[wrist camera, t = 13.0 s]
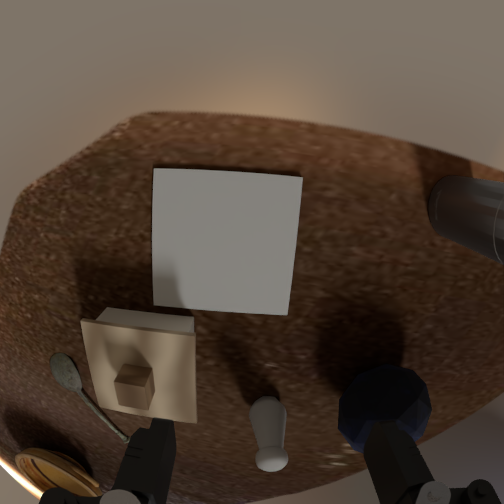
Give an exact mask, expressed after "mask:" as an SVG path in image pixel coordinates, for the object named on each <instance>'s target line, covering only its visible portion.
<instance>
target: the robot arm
mask: <svg viewBox="0 0 504 504" xmlns="http://www.w3.org/2000/svg"><path fill="white" fill-rule="evenodd" d="M428 211H429V218H430V222H431V224H432V226H433V228H434V229H435V231H436V232H437V233H438V234H440V235H441V236H443V237H445V238H447V239H450V240H452V241H454V242H456V243H458V244H460V245H463V246H465V247H467V248H469V249H471V250H473V251H476V252H478V253H480V254H482V255H484V256H486V257H488V258H490V259H492V260H494V261H496V262H498V263H501V264H503V265H504V183H503V182H497V181H490V180H484V179H477V178H470V177H463V176H455V175H453V176H447V177H444V178H442V179H441V180H440V181H439V182H438V183H437V184H436V185H435V187H434V188H433V190H432V192H431V195H430V199H429V206H428ZM363 453H364V459H365V461H366V464H367V467H368V470H369V472H370V475H371V478H372V481H373V484H374V486H375V490H376V493H377V495H378V498H379V501H380V504H501V502H500V500H499V498H498V496H497V494H496V492H495V490H494V489H493V486H492V485H491V484H490V483H489V482H488V481H486V480H482V479H479V480H475V481H473V482H471V483H470V485H469V486H468V487H467V488H448V486H446V485H445V484H444V483H442V482H438V481H435V480H434V479H433V476H432V474H431V473H430V471H429V469H428V467H427V465H426V463H425V461H424V459H423V457H422V455H420V451H419V449H418V448H417V445H416V444H415V442H414V440H413V438H412V437H411V436H410V435H409V434H408V433H407V432H406V431H405V430H399V428H398V426H397V425H396V423H395V421H393V420H388V421H381V422H376V423H375V424H374V425H373V427H372V430H371V432H370V434H369V436H368V438H367V440H366V443H365V445H364V450H363ZM175 456H176V438H175V430H174V422H173V420H170V419H163V418H157V417H154V418H153V420H152V423H151V426H150V429H145V428H139V429H138V430H137V431H136V432H135V433H134V434H133V435H132V436H131V438H130V441H129V444H128V448H127V449H126V452H125V456H124V457H123V460H122V463H121V466H120V469H119V472H118V474H117V477H116V480H115V483H114V485H113V487H112V489H111V490H110V491H109V492H107V493H105V494H104V495H101V496H97V497H85V496H74V495H73V494H72V493H71V492H70V491H69V490H67V489H64V488H60V487H54V488H50V489H48V490H46V491H45V492H44V493H43V495H42V497H41V499H40V502H39V504H166V501H167V496H168V491H169V485H170V481H171V476H172V471H173V466H174V461H175Z"/></svg>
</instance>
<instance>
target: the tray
mask: <svg viewBox="0 0 504 504" xmlns="http://www.w3.org/2000/svg"><path fill="white" fill-rule="evenodd" d="M302 180H303V177H295V176H285V175H273V174H262V173H248V172H234V171H217V170H196V169H165V168H154V176H153V205H152V271H153V300H154V305H157V306H167V307H177V308H188V309H200V310H212V311H226V312H240V313H257V314H275V315H287V313H288V305H289V298H290V290H291V282H292V274H293V266H294V257H295V248H296V239H297V230H298V221H299V211H300V201H301V191H302Z"/></svg>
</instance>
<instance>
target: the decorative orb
mask: <svg viewBox="0 0 504 504" xmlns="http://www.w3.org/2000/svg"><path fill="white" fill-rule="evenodd" d="M431 411H432V407H431V403H430V398H429V394H428V390H427V386H426V384H425V382H424V381H423V380H422V379H421V378H420V377H419V376H418V375H417V374H416V373H415V372H414V371H413V370H410V369H406V368H402V367H398V366H394V365H391V364H387V363H386V364H383V365H381V366H379V367H376V368H374V369H371V370H368V371H366V372H363V373H361V374H358V375H357V376H356V378H355V379H354V380H353V382H352V383H351V384H350V386H349V387H348V388H347V390H346V391H345V392H344V394H343V395H342V397H341V398H340V399H339V417H338V429H339V431H340V432H341V433H342V435H343V436H344V437H345V439H346V440H347V441H348V443H349V444H350V445H351V447H352V448H353V449H354V450H355V451H358V452H361V453H363V450H364V445H365V443H366V440H367V438H368V436H369V434H370V432H371V430H372V427H373V425H374V424H375V423H376V422H381V421H388V420H393V421H395V423H396V425H397V426H398V428H399V430H405V431H406V432H407V433H408V434H409V435H410V436H411V437H412V438H413V440H414V442H415V441H416V440H418V439H419V438H420V437H421V436H423V433H424V431H425V428H426V425H427V423H428V420H429V417H430V414H431Z"/></svg>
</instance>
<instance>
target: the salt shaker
mask: <svg viewBox="0 0 504 504" xmlns="http://www.w3.org/2000/svg"><path fill="white" fill-rule="evenodd" d="M286 414H287V413H286V410H285V407H284V405H283V404H281V403H280V402H279V401H278V400H277V399H276V398H275V397H272V396H262V397H261V398H259V399H258V400H256V401H255V402H254V404H253V405H252V407H251V408H250V413H249V418H250V421H251V424H252V427H253V430H254V433H255V437H256V440H257V443H258V446H259V451H258V452H257V454H256V464H257V466H258V468H260V469H262V470H264V471H269V472H271V471H278V470H281V469H282V468H283V467H285V466H286V464H287V462H288V455H287V453H286V451H285V449H283V443H284V434H285V424H286Z"/></svg>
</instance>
